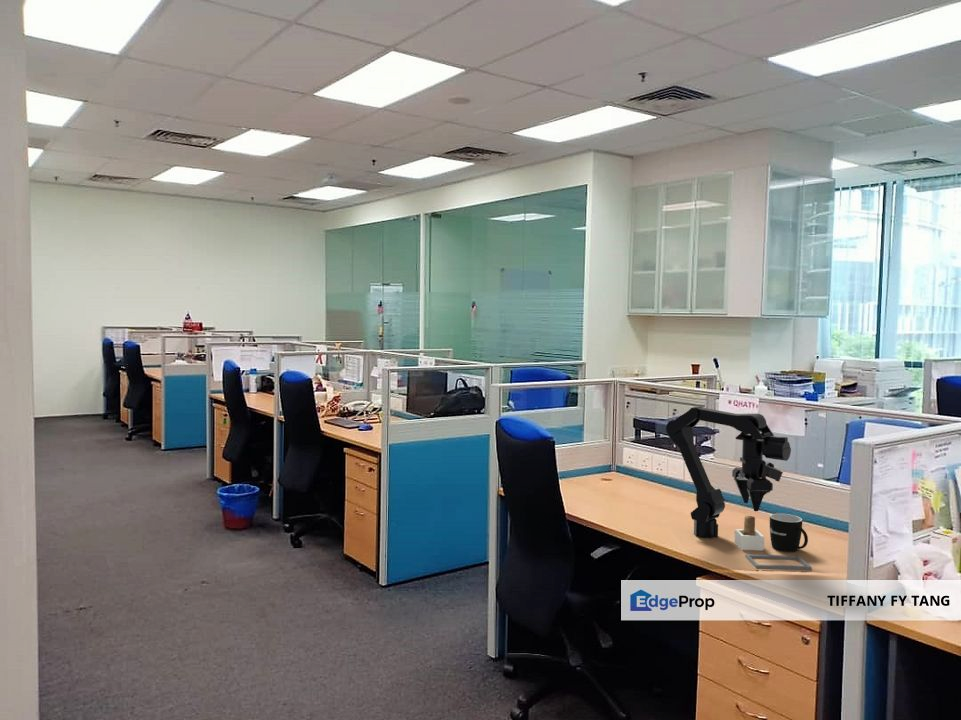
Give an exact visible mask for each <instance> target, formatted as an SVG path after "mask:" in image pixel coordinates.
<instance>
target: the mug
mask: <svg viewBox="0 0 961 720" xmlns="http://www.w3.org/2000/svg"><path fill="white" fill-rule="evenodd" d="M769 534H770V542H771V543H770V544H771V547H772V549H774V550H776V551H779V552H784V553H796V552H797V551H798V550H802V549H804V548H806V547H807V545H808V542H809V538H808V537H809V536H808V533H807V532H806V531H805V529H804V528H803V518H801V517H800V516H797V515H795V514H788V513H772V514H770V515H769ZM802 535H803V539H804V542H803V544H802V545H800V543H801V538H802Z"/></svg>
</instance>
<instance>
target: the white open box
mask: <svg viewBox="0 0 961 720" xmlns="http://www.w3.org/2000/svg"><path fill="white" fill-rule="evenodd" d="M733 543H734V544H735V545H736V547H737V548H739V550H741V551H765V549H764V548H765V535H763V534H762V533H761V532H760V531H759V530H758V529H755V535H744V528H743V529H742V528H741V529H737V528H735V529H734V542H733Z"/></svg>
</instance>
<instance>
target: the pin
mask: <svg viewBox="0 0 961 720" xmlns="http://www.w3.org/2000/svg"><path fill="white" fill-rule="evenodd" d="M743 517H744V519H743V520H744V521H743V522H744V523H743V524H744V525H743V530H744V535H755V530H756V528H755V527H756V516H753V515H744V516H743Z"/></svg>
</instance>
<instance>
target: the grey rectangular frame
mask: <svg viewBox="0 0 961 720" xmlns="http://www.w3.org/2000/svg"><path fill="white" fill-rule="evenodd" d="M745 559H747V561H748V562H749V563H750V564H752V566H753V567H754V568H755V571H757V572H760V571H759V570H760V569H761V570H762V571H761V572H773V569H775V570H777V569H778V570H801V572H800V573H806V571H808V570H809V571H812V568H813V567H812V566H811V565H810V564H809V563H808V562H806V561H805V560H804V559H803V558H802V557H801V556H799V555H778V554H777V555H775V554H748V553H747V554H745ZM755 559H766V560H767V559H768V560H769V559H772V560H797V561H798V562H799V563H801V564H802V565H792V564H791V565H787V564H786V565H784V564H782V565H781V564H759V563H757V561H755ZM765 569H766V570H765ZM769 569H772V570H769ZM802 570H805V571H802Z"/></svg>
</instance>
